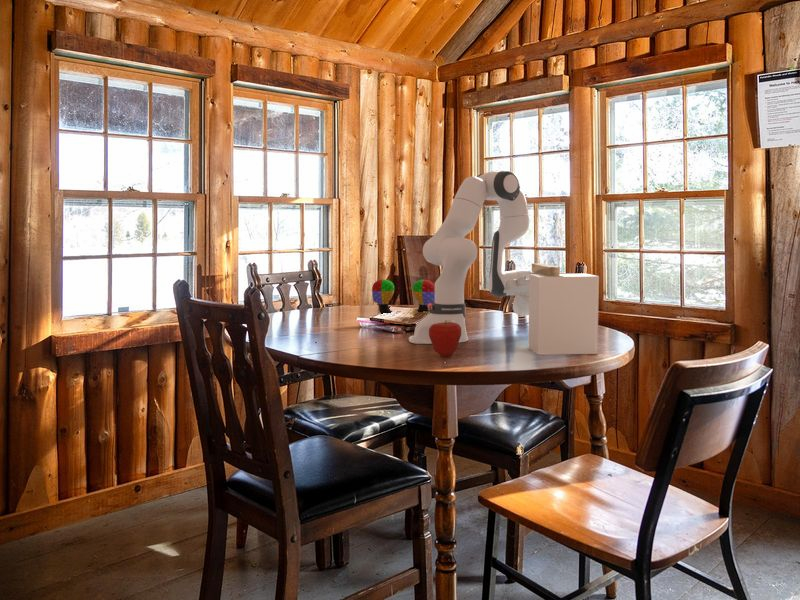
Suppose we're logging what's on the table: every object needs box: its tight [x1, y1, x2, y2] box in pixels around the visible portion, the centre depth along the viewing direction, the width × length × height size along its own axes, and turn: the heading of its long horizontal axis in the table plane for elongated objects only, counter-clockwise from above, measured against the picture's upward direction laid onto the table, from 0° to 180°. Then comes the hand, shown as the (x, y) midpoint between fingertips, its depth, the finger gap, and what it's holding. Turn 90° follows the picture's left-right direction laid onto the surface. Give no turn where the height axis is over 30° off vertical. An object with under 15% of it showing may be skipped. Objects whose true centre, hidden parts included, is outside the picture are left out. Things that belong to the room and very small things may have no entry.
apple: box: [429, 321, 461, 358], centre depth 228 cm, size 11×11×12 cm
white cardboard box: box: [528, 273, 600, 356], centre depth 235 cm, size 20×14×26 cm
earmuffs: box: [371, 278, 435, 315], centre depth 302 cm, size 28×9×20 cm, turn 78°
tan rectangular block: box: [531, 262, 561, 276], centre depth 238 cm, size 4×24×3 cm, turn 3°
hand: (537, 277), depth 250 cm, fingers open, 8 cm apart
